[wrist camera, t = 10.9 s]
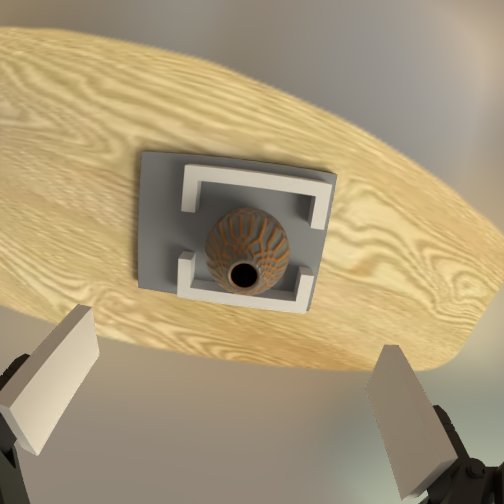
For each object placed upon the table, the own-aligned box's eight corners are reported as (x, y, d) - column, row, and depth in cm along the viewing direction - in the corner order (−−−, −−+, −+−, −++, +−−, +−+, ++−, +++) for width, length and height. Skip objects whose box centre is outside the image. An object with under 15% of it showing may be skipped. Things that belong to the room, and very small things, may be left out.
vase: (204, 208, 28) (181, 236, 20) (279, 194, 28) (287, 217, 19) (221, 277, 30) (207, 326, 22) (291, 265, 30) (301, 311, 22)
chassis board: (142, 282, 32) (131, 296, 29) (146, 151, 28) (133, 152, 25) (307, 305, 33) (311, 321, 30) (334, 173, 28) (342, 177, 25)
